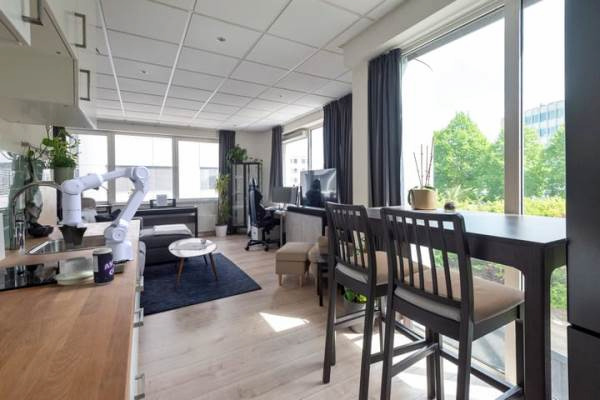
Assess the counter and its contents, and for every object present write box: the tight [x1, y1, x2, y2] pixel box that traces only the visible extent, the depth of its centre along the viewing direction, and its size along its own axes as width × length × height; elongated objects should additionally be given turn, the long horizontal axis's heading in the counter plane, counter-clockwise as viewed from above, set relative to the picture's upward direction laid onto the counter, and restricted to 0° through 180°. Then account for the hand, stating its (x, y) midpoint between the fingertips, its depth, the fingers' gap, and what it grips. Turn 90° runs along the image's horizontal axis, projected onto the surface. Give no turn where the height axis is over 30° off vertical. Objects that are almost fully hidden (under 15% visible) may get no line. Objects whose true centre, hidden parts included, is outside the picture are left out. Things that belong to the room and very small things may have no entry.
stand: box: [54, 271, 94, 286], centre depth 99 cm, size 12×12×2 cm
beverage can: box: [91, 246, 115, 286], centre depth 95 cm, size 6×6×12 cm
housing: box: [58, 255, 93, 278], centre depth 98 cm, size 8×5×5 cm, turn 146°
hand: (73, 244), depth 110 cm, fingers open, 7 cm apart
